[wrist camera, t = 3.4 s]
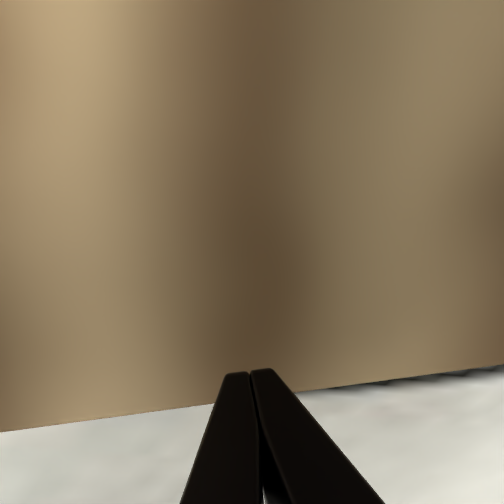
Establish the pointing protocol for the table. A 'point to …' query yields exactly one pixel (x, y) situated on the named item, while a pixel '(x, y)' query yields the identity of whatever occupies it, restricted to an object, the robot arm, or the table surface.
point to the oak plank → (244, 197)
